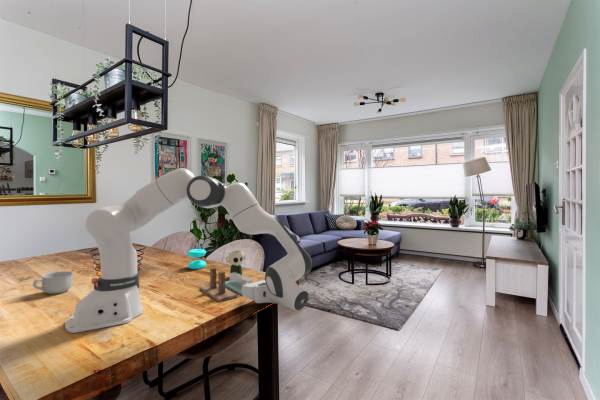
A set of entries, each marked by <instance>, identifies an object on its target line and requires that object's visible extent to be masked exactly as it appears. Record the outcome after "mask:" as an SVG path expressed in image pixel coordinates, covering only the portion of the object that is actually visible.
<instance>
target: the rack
mask: <svg viewBox="0 0 600 400" xmlns="http://www.w3.org/2000/svg"><path fill="white" fill-rule="evenodd" d="M209 276H210V277H209V284H207V285H206V284H205V285H203V286H202V285H201V286H199V290H200V291H201V292H203V293H205V294H206V295H208V296H209V297H211V298H212V299H214V300H215V301H217V302H218V303H221V302H224V301H228V300H232V299H233V300H234V299H237V298H238V293H236V292H235V291H233V290H231V289H229V288H227V287H225V282H226V272H225V271H222V270H221V271H218V283H217V268H216V267H214V266H213V267H209Z"/></svg>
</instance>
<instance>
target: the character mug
mask: <svg viewBox="0 0 600 400" xmlns="http://www.w3.org/2000/svg"><path fill="white" fill-rule="evenodd" d="M245 260H246V253H244V252H243V250H238V249H237V250H230V251H228V255H226V257H225V263H226V264H227V263H229V265H230V271H229V274H230V273H234V272H236V273H238V274H241V275H243V269H242V264H243V262H244V261H245Z"/></svg>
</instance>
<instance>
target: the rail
mask: <svg viewBox="0 0 600 400" xmlns="http://www.w3.org/2000/svg"><path fill="white" fill-rule="evenodd" d="M229 281H230V282H231V283H233V284H235V285H237V286H239V287H241V288H242V286H243V285H245V283H246V282H250V283H254V280H253V279H252V278H250V277H247V276H245V275H243V274H242V275H241V274H238V273H236V272H234V273H230V272H229Z"/></svg>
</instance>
